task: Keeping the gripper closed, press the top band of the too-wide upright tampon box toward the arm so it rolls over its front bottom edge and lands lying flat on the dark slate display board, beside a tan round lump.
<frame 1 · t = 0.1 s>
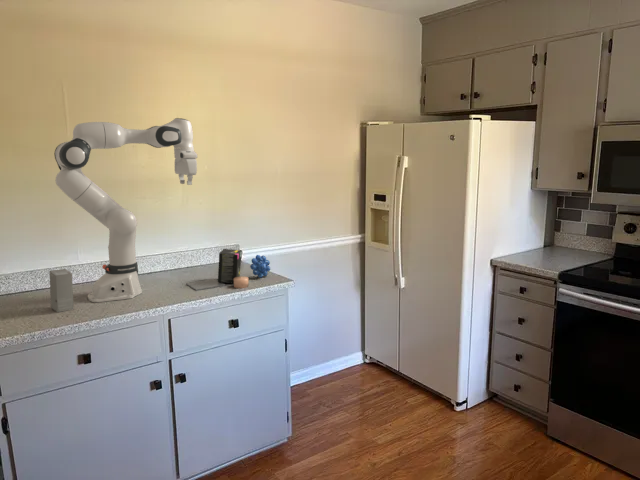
hand: (185, 184, 227), 48 cm above the countertop, fingers open, 8 cm apart
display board: (206, 285, 232), on the countertop
tampon box: (228, 280, 239), on the countertop
grapes: (261, 278, 245), on the countertop
tan round lump: (241, 286, 230), on the countertop
skincare box: (63, 309, 199), on the countertop
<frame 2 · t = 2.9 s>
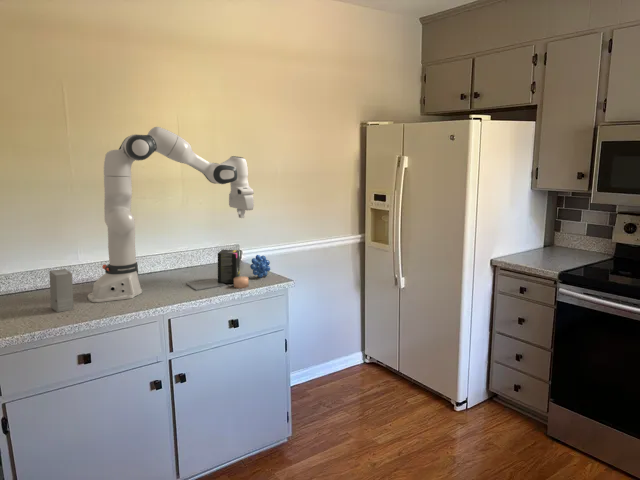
hand: (241, 217, 239), 31 cm above the countertop, fingers closed
tampon box: (228, 280, 239), on the countertop, touching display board
everything else where it was.
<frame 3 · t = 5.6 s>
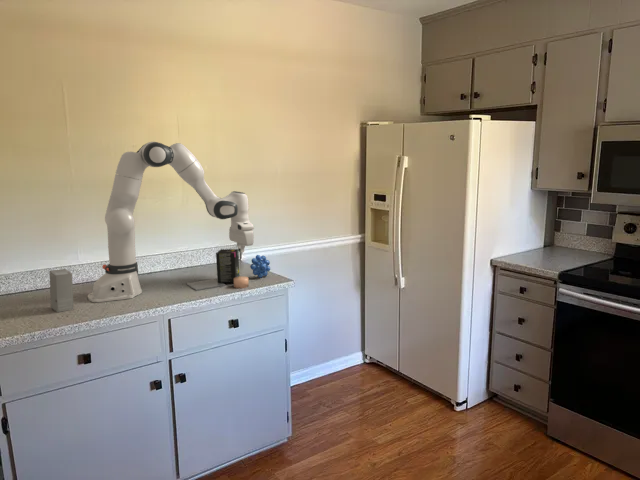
hand: (241, 251, 240), 14 cm above the countertop, fingers closed
tampon box: (228, 280, 239), on the countertop, touching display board, gripper
everything else where it was.
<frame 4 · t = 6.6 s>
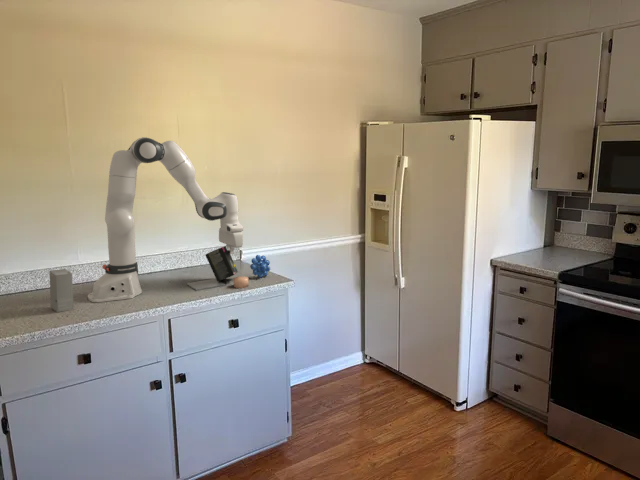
hand: (230, 253, 237), 14 cm above the countertop, fingers closed
tampon box: (228, 277, 238), point 2 cm above the countertop, touching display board
everything else where it was.
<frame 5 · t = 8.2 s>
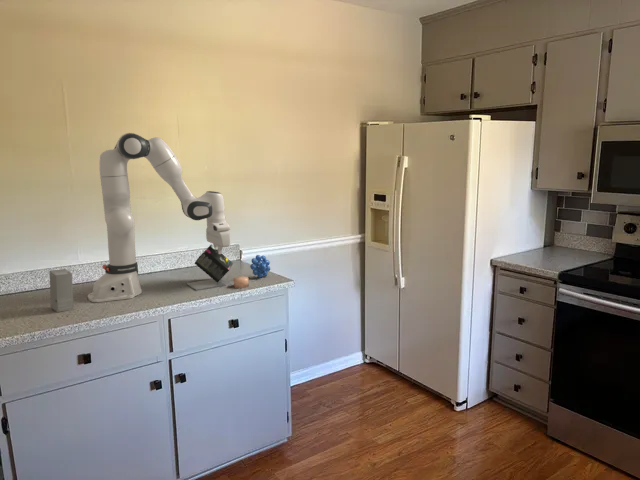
hand: (218, 253, 233), 15 cm above the countertop, fingers closed
tampon box: (225, 273, 238), point 4 cm above the countertop, touching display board, gripper
everything else where it was.
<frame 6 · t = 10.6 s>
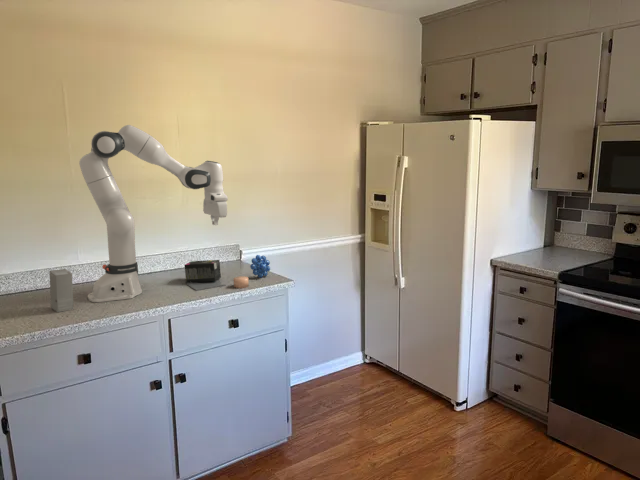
hand: (215, 224, 230), 29 cm above the countertop, fingers closed
tampon box: (218, 270, 238), point 6 cm above the countertop, touching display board
everything else where it was.
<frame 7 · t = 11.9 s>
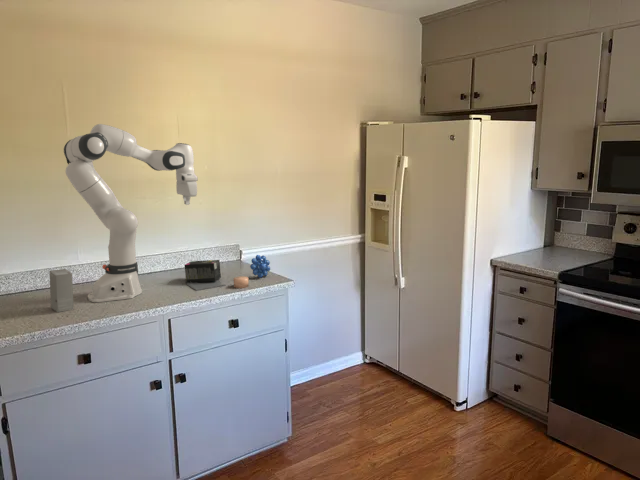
hand: (187, 204, 242), 37 cm above the countertop, fingers closed
nothing on the countertop moved.
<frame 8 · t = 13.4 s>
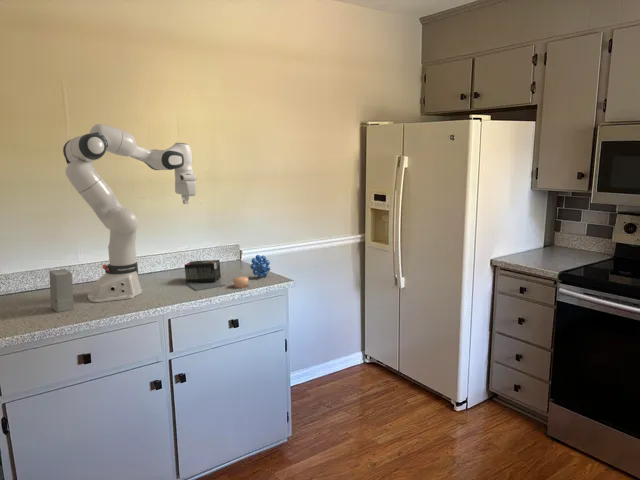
hand: (185, 203, 243), 37 cm above the countertop, fingers closed
nothing on the countertop moved.
at the end: tampon box tilted 93°; tampon box inside the target area (5.4 cm from its centre), point 5.5 cm above the countertop; tampon box touching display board, countertop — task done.
